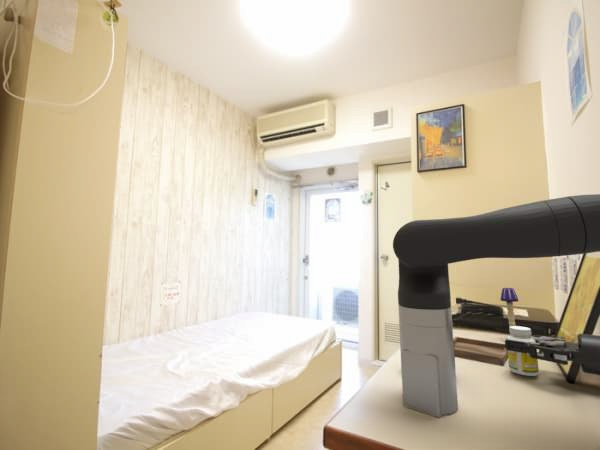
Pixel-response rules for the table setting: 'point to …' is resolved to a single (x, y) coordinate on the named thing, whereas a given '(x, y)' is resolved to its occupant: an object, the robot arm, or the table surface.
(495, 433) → the table surface
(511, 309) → the toy lamp
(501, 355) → the tray
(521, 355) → the supplement bottle
